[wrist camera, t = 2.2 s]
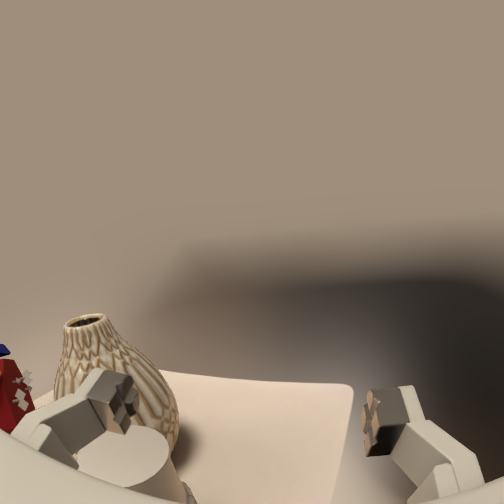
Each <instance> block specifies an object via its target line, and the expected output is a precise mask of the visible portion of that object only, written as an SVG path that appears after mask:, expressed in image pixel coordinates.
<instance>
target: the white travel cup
mask: <svg viewBox="0 0 504 504" xmlns="http://www.w3.org/2000/svg"><path fill="white" fill-rule="evenodd" d="M170 456H171V451H170V447H169V444H168V442H167V440H166V439H165V437H164V436H163V435H162V434H161V433H159V432H158V431H156V430H154V429H151V428H148V427H145V426H137V425H131V426H130V427H129V429H128V431H127V433H126V435H121V434H117V433H114V432H110V431H106V432H105V433H103V434H102V435H101V436H99V437H98V438H96V439H95V440H93V441H92V442H91V443H89V444H88V445H86V446H85V447H83V448H82V449H80V450H79V452H78V454H77V459H76V461H77V462H78V464H79V468H78V470H79V471H81V472H84V473H86V474H88V475H91V476H93V477H96V478H98V479H101V480H104V481H106V482H109V483H112V484H115V485H118V486H121V487H124V488H127V489H130V490H133V491H136V492H140V493H143V494H146V495H150V496H154V497H157V498H161V499H165V500H169V501H174V502H178V503H182V504H197V502H196V500H195V498H194V496H193V493H192V491H191V489H190V488H189V487H188V486H187V484H186V483H184V482H182V481H181V480H180V478H179V476H178V474H177V472H176V469H175V467H174V465H173V463H172V460H171V458H170Z"/></svg>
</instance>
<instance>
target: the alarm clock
mask: <svg viewBox="0 0 504 504" xmlns="http://www.w3.org/2000/svg"><path fill="white" fill-rule="evenodd" d="M9 354H10V351H9V350H8V349H7V348H6V346H5V345H4V344H0V357H2V356H6V355H9ZM30 374H31V372H29V371H28V370H25V371H24V373H23V374H21V372H20V371H19V369H18V367H17V365H16V363H15V361H14V360H10V359H0V429H2V430H3V431H5V432H6V433H8V434H11V433H12V431H13V430H14V429H15V427H16V426H17V425H18V424H19V422H20V421H21V420H22V418H23V417H24V416H25V415H26V414H27V413H30V412H32V411H34V410H35V407H34V404H33V401H32V399H31V396H30V393H29V391H31V389H32V387H30V386H27V385H29V383H30V382H31V381H32V379H30V378H29V375H30ZM23 376H24V377H23Z"/></svg>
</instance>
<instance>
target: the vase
mask: <svg viewBox="0 0 504 504" xmlns="http://www.w3.org/2000/svg"><path fill="white" fill-rule="evenodd" d="M94 368H101V369H106V370H110V371H115V372H119V373H123V374H128V375H131V376H132V377H133V380H134V382H135V383H134V385H133V387H134V388H135V389H136V390H138V392H139V395H140V407H139V410H138V412H137V414H136V415H134V416H132V417H131V421H132V423H131V425H137V426H145V427H148V428H151V429H154V430H156V431H158V432H159V433H161V434H162V435H163V436H164V437H165V439H166V440H167V442H168V444H169V447H170V451H171V452H172V450H173V448H174V446H175V443H176V441H177V437H178V432H179V412H178V407H177V403H176V399H175V397H174V395H173V392H172V390H171V389H170V387H169V385H168V384H167V382H166V381H165V379H164V378H163V376H162V375H161V373H160V372H159V371H158V370H157V368H156V367H155V366H154V365H153V364H152V363H151V362H150V361H149V360H148V359H147V358H146V357H145V356H144V355H143V354H141V353H140V352H139V351H138V350H137V349H135V348H134V347H133V346H132V345H130V344H129V343H128V342H126V341H125V340H124V339H123V338H122V337H120V335H119V334H118V333H117V331H116V330H115V329H114V327H113V326H112V324H111V323H110V321H109V319H108V318H107V316H106V315H104V314H100V313H95V314H87V315H83V316H79V317H76V318H74V319H71V320H69V321H68V322H66V323H65V324H64V326H63V352H62V357H61V360H60V363H59V367H58V370H57V374H56V379H55V386H54V401H56V400H58V399H60V398H62V397H64V396H66V395H69V394H71V393H72V394H75V392H76V391H77V390H78V388H79V387H80V386H81V384H82V383H83V382H84V380H85V379H86V378H87V376H88V375H89V374H90V372H91V371H92V370H93V369H94ZM131 425H130V426H131ZM78 452H79V451H77V452H76V454H78Z"/></svg>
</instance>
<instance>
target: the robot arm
mask: <svg viewBox="0 0 504 504" xmlns="http://www.w3.org/2000/svg"><path fill="white" fill-rule="evenodd" d="M134 383H135V382H134V380H133V377H132V376H131V375H128V374H123V373H119V372H115V371H110V370H106V369H101V368H94V369H93V370H92V371H91V372H90V374H89V375H88V376H87V378H86V379H85V380H84V382H83V383H82V384H81V386H80V387H79V388H78V390H77V391H76V392H75V394H72V393H71V394H69V395H66V396H64V397H62V398H60V399H58V400H56V401H54V402H51V403H49V404H47V405H45V406H43V407H41V408H38V409H36V410H34V411H32V412H30V413H27V414H26V415H25V416H24V417H23V418H22V420H21V421H20V422H19V424H18V425H17V426H16V427H15V429H14V430H13V431H12V433H11V434H8V433H6V432H5V431H3V430H2V429H0V504H182V503H178V502H174V501H169V500H165V499H161V498H157V497H154V496H150V495H146V494H143V493H140V492H136V491H133V490H130V489H127V488H124V487H121V486H118V485H115V484H112V483H109V482H106V481H104V480H101V479H98V478H96V477H93V476H91V475H88V474H86V473H84V472H81V471H79V470H78V468H79V464H78V462H77V461H76V460H75V459H74V457H73V456H72V455H73V454H75V453H76V452H77V451H79V450H80V449H82V448H83V447H85V446H86V445H88V444H89V443H91V442H92V441H93V440H95V439H96V438H98V437H99V436H101V435H102V434H103V433H105V432H106V431H110V432H114V433H117V434H121V435H126V433H127V431H128V429H129V427H130V425H131V423H132V421H131V417H132V416H134V415H136V414H137V412H138V410H139V407H140V395H139V392H138V390H136V389H135V388H134V387H133V385H134ZM367 402H368V403H367V404H366V405H364V408H363V412H362V430H363V432H364V433H365V434H366V438H365V440H364V445H365V452H366V456H367V457H369V456H382V455H390V456H391V458H392V459H393V460H394V461H395V462H396V463H397V464H398V465H399V467H400V468H401V469H402V470H403V471H404V472H405V473H406V474H407V476H408V477H409V478H410V479H411V480H412V481H413V482H414V483H415V484H416V485H417V486H418V489H417V490H416V491H415V492H414V493H413V495H412V496H411V497H410V498H409V499H408V500H407V504H504V476H503V477H501V478H499V479H496V480H494V481H491V482H488V483H486V484H485V482H484V479H483V476H482V473H481V470H480V467H479V464H478V461H477V458H476V455H475V454H474V453H472V452H471V451H470V450H469V449H467V448H466V447H465V446H463V445H462V444H460V443H459V442H458V441H457V440H455V439H454V438H453V437H451V436H450V435H449V434H447V433H446V432H445V431H443V430H442V429H441V428H439V427H438V426H437V425H436V424H434V423H433V422H432V421H430V420H425V417H424V414H423V412H422V408H421V405H420V403H419V400H418V397H417V394H416V392H415V389H414V387H413V386H412V385H411V386H402V387H391V388H380V389H370V390H369V391H368V394H367Z"/></svg>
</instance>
